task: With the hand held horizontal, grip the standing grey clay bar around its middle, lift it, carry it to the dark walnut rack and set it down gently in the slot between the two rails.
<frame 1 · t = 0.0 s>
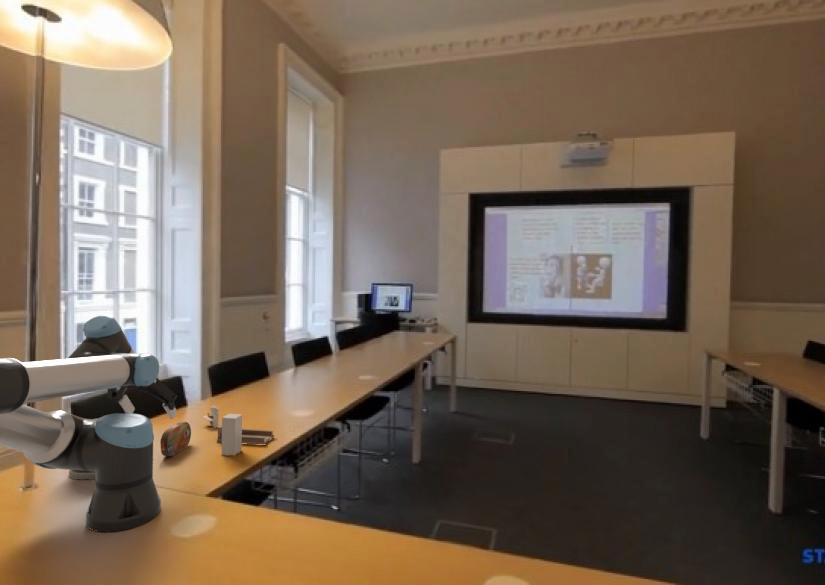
hand: (152, 414, 143), 15 cm above the table, tool tilted 35°, fingers open, 13 cm apart
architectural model: (212, 427, 181), on the table
rack: (245, 440, 167), on the table
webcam: (95, 471, 139), on the table
tin: (175, 452, 155), on the table
clay bar: (231, 452, 155), on the table
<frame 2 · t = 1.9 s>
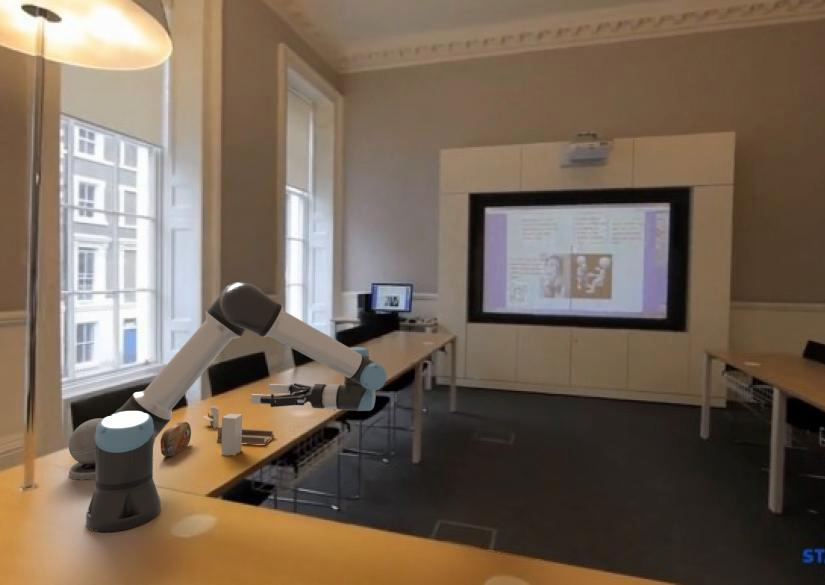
hand: (261, 393, 153), 20 cm above the table, tool horizontal, fingers open, 13 cm apart
nothing on the table moved.
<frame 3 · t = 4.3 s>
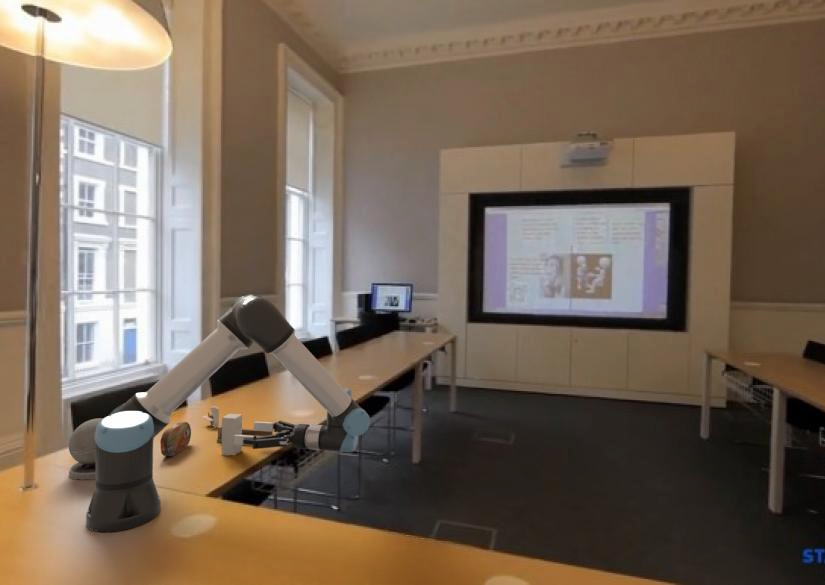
hand: (244, 432, 155), 7 cm above the table, tool horizontal, fingers open, 13 cm apart
nothing on the table moved.
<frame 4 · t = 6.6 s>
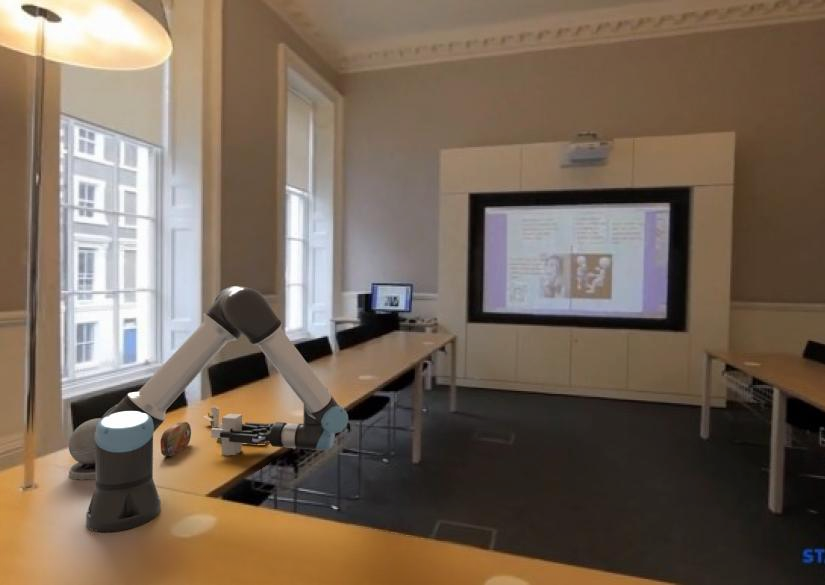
hand: (216, 430, 155), 7 cm above the table, tool horizontal, fingers closed on clay bar, 4 cm apart
clay bar: (231, 452, 155), on the table, touching gripper
everything else where it was.
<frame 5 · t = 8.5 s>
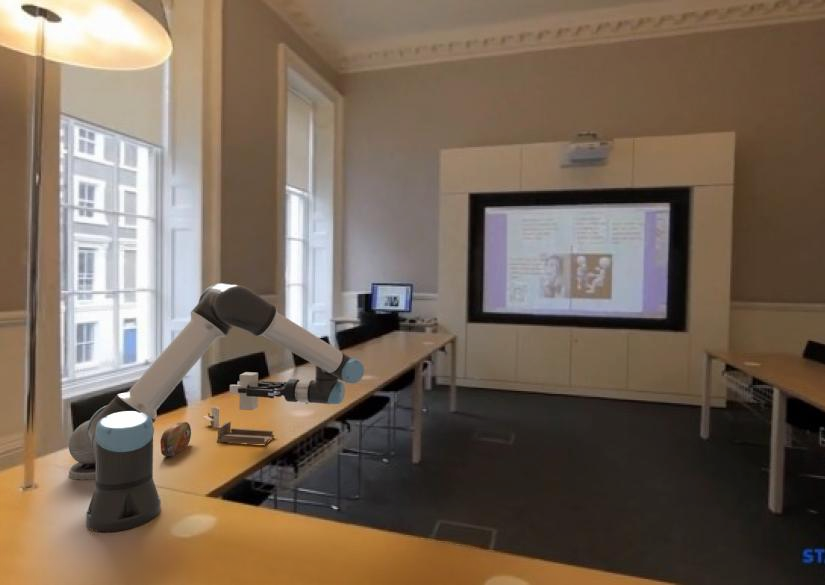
hand: (234, 387, 166), 18 cm above the table, tool horizontal, fingers closed on clay bar, 4 cm apart
clay bar: (248, 408, 166), point 11 cm above the table, touching gripper
everything else where it was.
when the fingers open (8 cm above the table, at t = 10.6 s): clay bar stays where it is, resting on rack.
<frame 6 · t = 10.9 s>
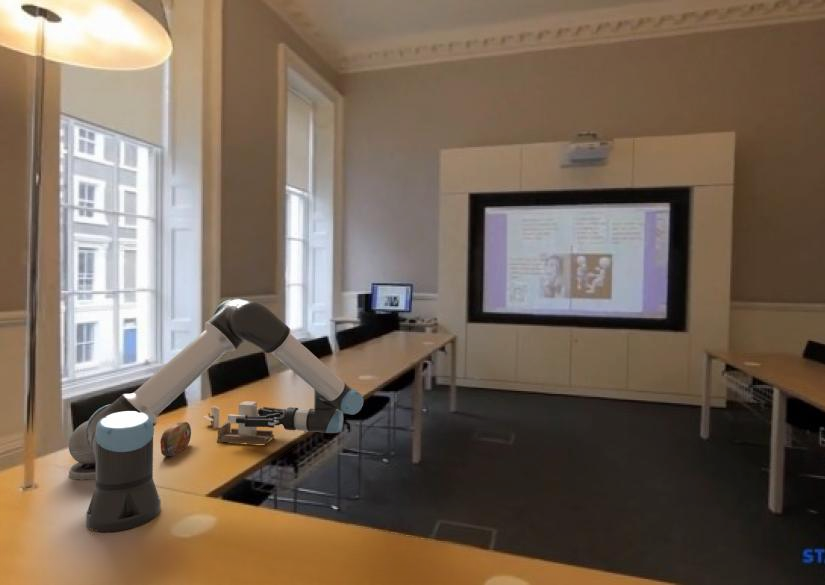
hand: (234, 415, 167), 8 cm above the table, tool horizontal, fingers open, 8 cm apart
clay bar: (247, 437, 167), point 1 cm above the table, touching rack
everything else where it was.
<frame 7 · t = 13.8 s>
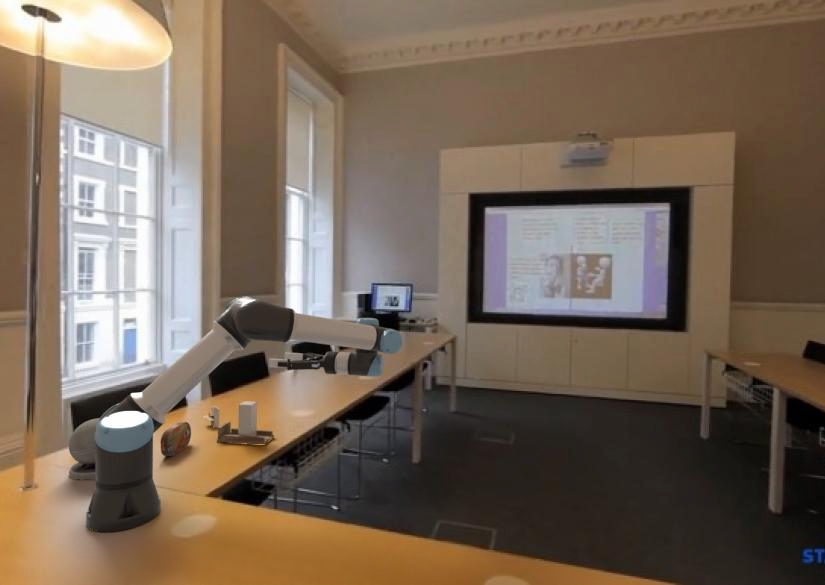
hand: (277, 359, 165), 29 cm above the table, tool horizontal, fingers open, 13 cm apart
nothing on the table moved.
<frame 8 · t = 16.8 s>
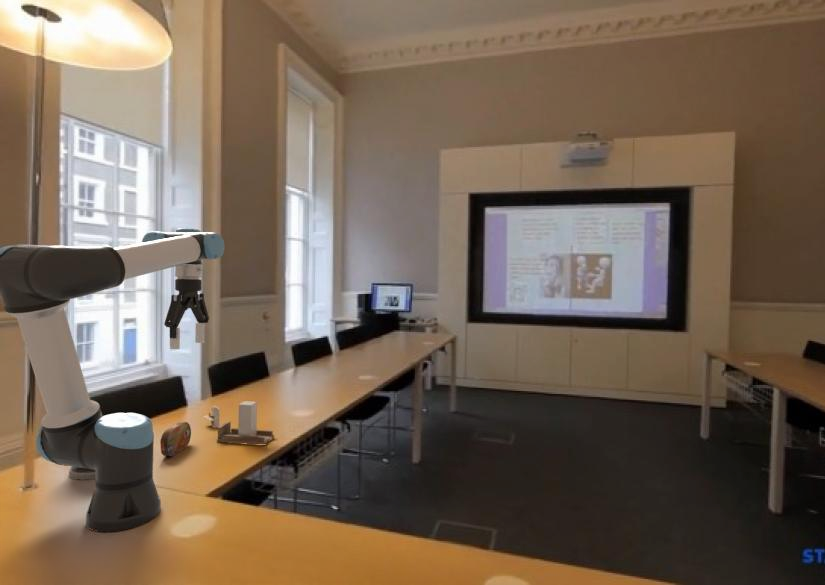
hand: (187, 345, 151), 35 cm above the table, tool pointing down, fingers open, 13 cm apart
nothing on the table moved.
at the end: clay bar inside the target area on the rack (0.9 cm from its centre), point 1.0 cm above the rack's base; clay bar tilted 0°; the gripper is holding nothing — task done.
